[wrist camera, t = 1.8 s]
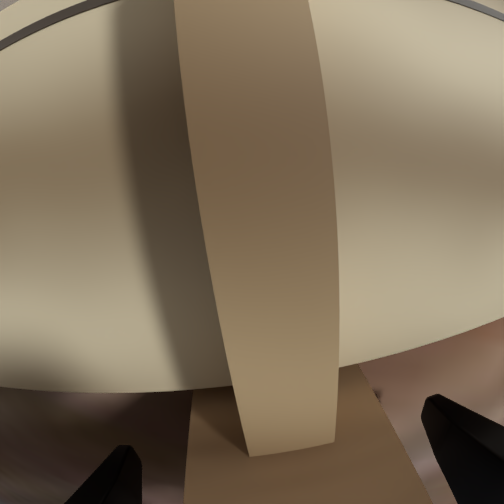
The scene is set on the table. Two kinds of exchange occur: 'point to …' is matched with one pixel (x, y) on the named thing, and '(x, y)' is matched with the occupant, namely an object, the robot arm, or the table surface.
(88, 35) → the board
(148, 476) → the table surface
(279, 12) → the wooden mallet
